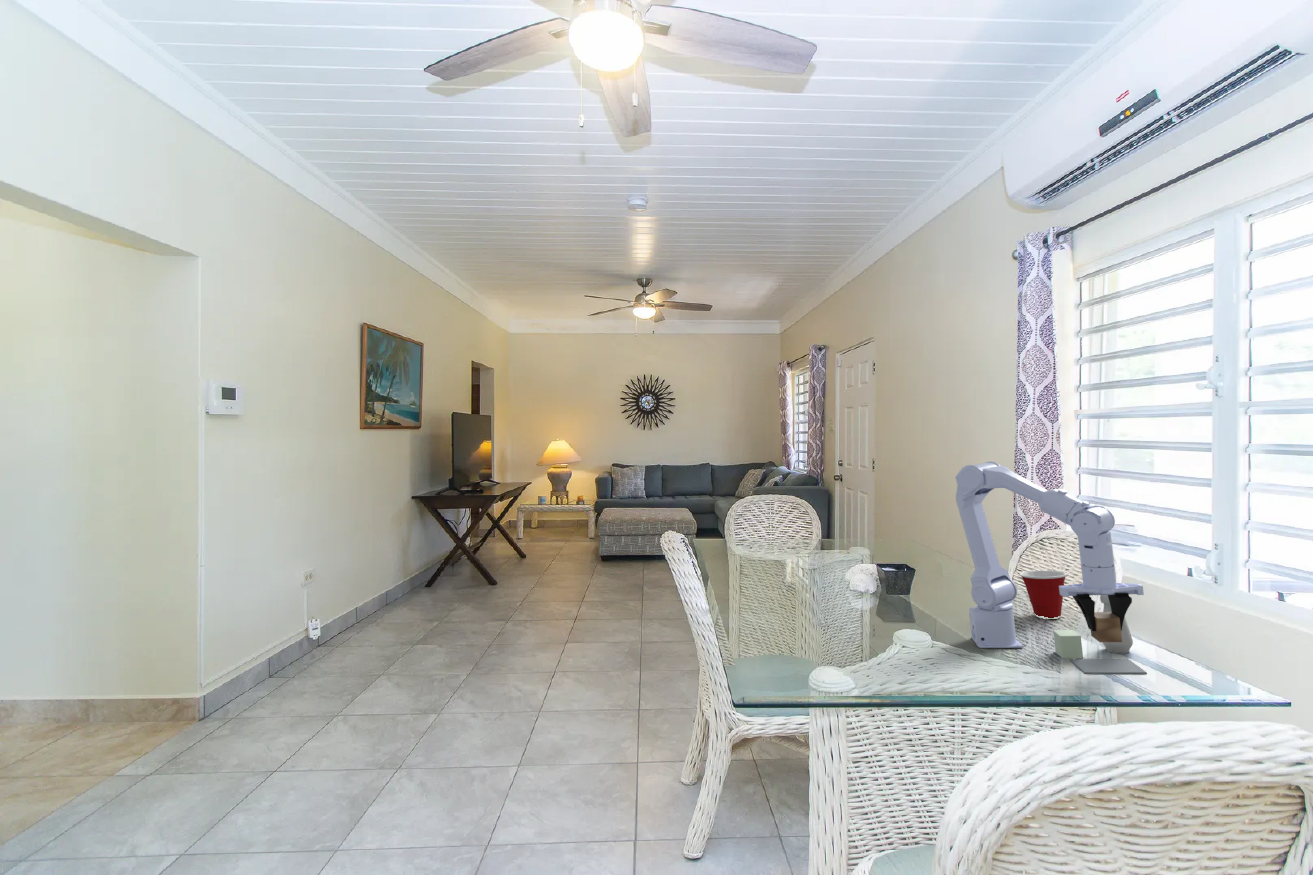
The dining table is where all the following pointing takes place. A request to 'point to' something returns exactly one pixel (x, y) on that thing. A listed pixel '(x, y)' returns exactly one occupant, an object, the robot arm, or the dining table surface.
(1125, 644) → the salt shaker
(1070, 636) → the sage block
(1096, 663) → the slate mat
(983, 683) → the dining table surface
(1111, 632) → the walnut block
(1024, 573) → the plastic cup
